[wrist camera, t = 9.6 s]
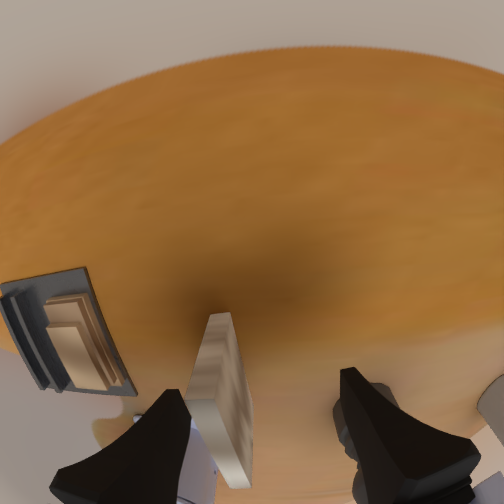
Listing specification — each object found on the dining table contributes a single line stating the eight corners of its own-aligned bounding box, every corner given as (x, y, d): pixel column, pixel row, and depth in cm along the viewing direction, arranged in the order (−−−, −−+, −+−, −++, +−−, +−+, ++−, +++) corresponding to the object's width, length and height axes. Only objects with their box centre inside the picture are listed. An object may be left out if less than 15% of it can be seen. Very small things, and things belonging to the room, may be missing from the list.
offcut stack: (125, 380, 23) (115, 397, 20) (88, 379, 23) (77, 393, 21) (87, 292, 20) (72, 305, 18) (50, 297, 21) (35, 308, 18)
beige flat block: (253, 405, 23) (251, 488, 15) (237, 407, 24) (230, 488, 15) (230, 311, 21) (214, 398, 12) (210, 314, 21) (184, 399, 12)
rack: (138, 393, 24) (131, 407, 22) (49, 385, 24) (41, 395, 22) (85, 266, 20) (72, 275, 18) (1, 283, 21) (-11, 290, 19)
